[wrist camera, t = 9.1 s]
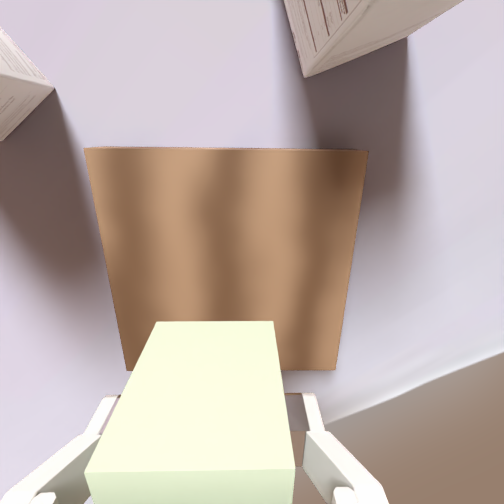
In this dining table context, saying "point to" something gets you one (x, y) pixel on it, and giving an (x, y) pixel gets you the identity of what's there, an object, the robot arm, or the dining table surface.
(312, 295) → the walnut stand
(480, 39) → the dining table surface
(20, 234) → the dining table surface
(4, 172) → the dining table surface
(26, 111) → the skincare box
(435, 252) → the dining table surface
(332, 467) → the robot arm
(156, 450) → the sage block
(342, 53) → the supplement box
